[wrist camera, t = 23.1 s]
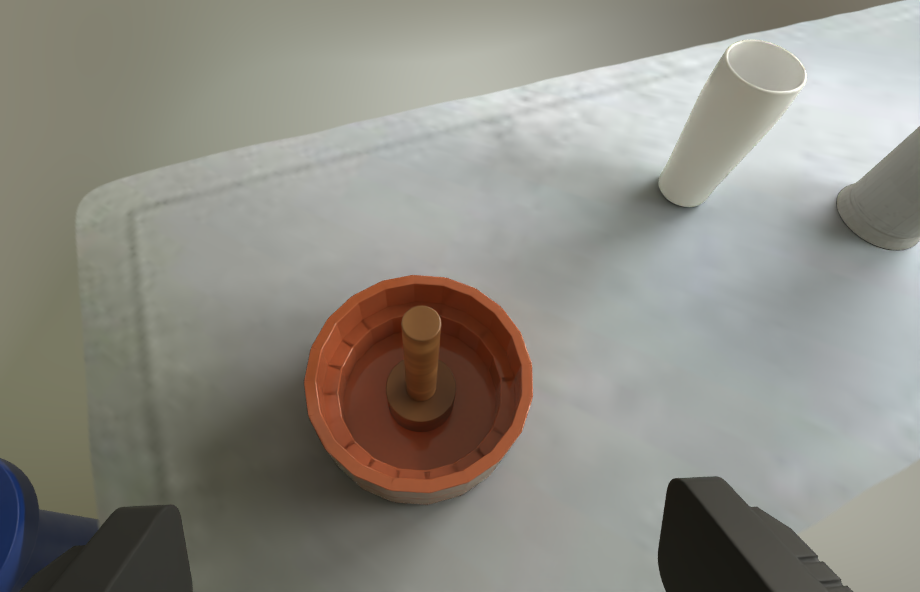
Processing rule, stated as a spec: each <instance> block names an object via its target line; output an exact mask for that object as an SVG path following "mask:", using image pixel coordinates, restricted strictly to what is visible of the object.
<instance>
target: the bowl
mask: <svg viewBox="0 0 920 592" xmlns="http://www.w3.org/2000/svg"><path fill="white" fill-rule="evenodd" d="M415 306H427V307H430V308H432V309H434V310H435V311H436V312H437V313H438V315H439V316H440V319H441V334H440V346H439V358H438V359H439V360H441V361H442V362H444V363H445V364H446V365H447V366H448V367H449V369H450V370H451V372H452V373H453V376H454V378H455V382H456V394H455V400H454V405H453V409H452V412H451V414H450V416H449V417H448V419H447V420H446V421H445V422H444V423H443V424H442V425H440V426H439V427H437V428H436V429H433V430H431V431H427V432H414V431H410V430H408V429H405V428H404V427H402V426H400V425H399V424H398V423H397V422H396V421H395V420H394V418H393V417H392V415H391V413H390V410H389V406H388V401H387V396H386V383H387V379H388V376H389V374H390V372H391V371H392V369H393V368H394V367H395V366H396V365H397V364H398V363H399V362H400V361H402V360H404V352H403V339H402V326H401V322H402V318H403V316H404V314H405V313H406V312H407V311H408V310H409V309H411V308H413V307H415ZM304 388H305V396H306V403H307V411H308V416H309V419H310V421H311V423H312V425H313V427H314V429H315V431H316V433H317V435H318V437H319V438H320V440H321V442H322V444H323V446H324V448H325V450H326V451H327V452H328V454H329V455H330V456H331V458H332V459H333V460H334V461H335V463H336V464H337V465H338V467H339V468H340V469H341V470H342V471H343V472H345V473H346V474H347V475H348V476H349V477H350V478H351V479H352V480H353V481H354V482H355V483H356V484H358V485H359V486H360V487H361V488H362V489H364V490H366V491H368V492H371V493H373V494H375V495H378V496H380V497H382V498H385V499H387V500H389V501H392V502H395V503H410V504H426V505H428V504H433V503H436V502H440V501H443V500H447V499H451V498H454V497H458V496H461V495H463V494H464V493H466V492H467V491H469V490H470V489H472V488H473V487H474V486H476V485H477V484H479V483H480V482H482V481H483V480H485V479H486V478H488V477H489V476H490V475H491V473H492V472H493V471H494V469H495V468H496V467H497V465H498V464H499V463H500V461H501V460H502V459H503V457H504V456H505V455H506V453H507V452H508V451H509V449H510V448H511V446H512V445H513V443H514V442H515V441H516V439H517V438H518V436H519V435H520V434H521V432H522V430H523V427H524V424H525V421H526V418H527V415H528V411H529V408H530V405H531V402H532V397H533V382H532V362H531V359H530V357H529V354H528V351H527V348H526V345H525V342H524V340H523V337H522V334H521V332H520V331H519V330H518V328H517V327H516V326H515V324H514V323H513V322H512V320H511V319H510V318H509V316H508V315H507V314H506V312H505V311H504V310H503V308H501V306H499V305H498V304H497V303H495V302H494V301H492V300H491V299H490V298H488V297H487V296H486V295H484V294H483V293H481V292H480V291H479V290H477V289H475V288H473V287H471V286H468V285H465V284H462V283H460V282H457V281H454V280H451V279H449V278H445V277H432V276H420V275H410V276H405V277H400V278H395V279H389V280H384V281H382V282H379V283H377V284H375V285H373V286H371V287H369V288H367V289H365V290H363V291H361V292H359V293H357V294H355V295H353V297H350V298H349V299H348V300H347V301H346V302H345V303H344V304H343V305H342V306H341V307H340V308H339V309H338V310H337V311H335V312H334V313H333V314H332V315H331V316H330V317H329V318H328V319H327V321H326V322H325V324H324V326H323V328H322V329H321V331H320V333H319V335H318V336H317V338H316V340H315V342H314V343H313V345H312V347H311V349H310V354H309V359H308V364H307V369H306V374H305V378H304Z"/></svg>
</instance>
